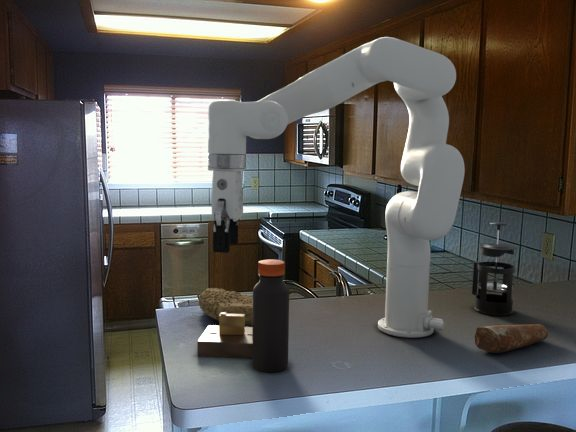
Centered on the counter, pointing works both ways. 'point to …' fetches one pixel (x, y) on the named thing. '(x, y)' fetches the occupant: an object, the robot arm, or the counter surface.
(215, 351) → the lock plate
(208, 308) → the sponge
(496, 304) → the french press
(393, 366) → the counter surface
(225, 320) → the thumbturn
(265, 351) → the bottle
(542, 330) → the bread
